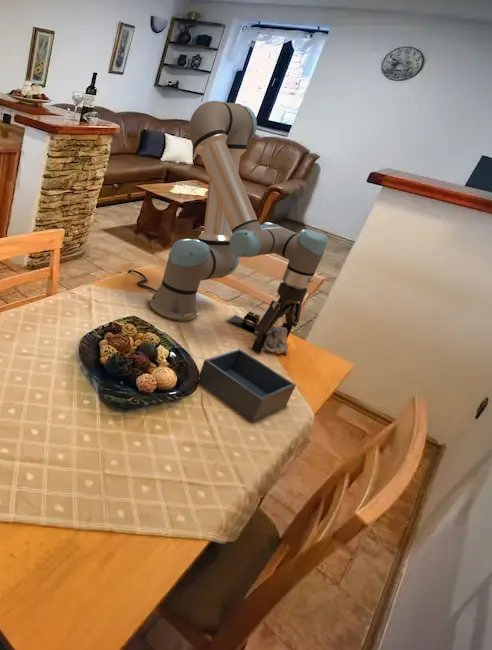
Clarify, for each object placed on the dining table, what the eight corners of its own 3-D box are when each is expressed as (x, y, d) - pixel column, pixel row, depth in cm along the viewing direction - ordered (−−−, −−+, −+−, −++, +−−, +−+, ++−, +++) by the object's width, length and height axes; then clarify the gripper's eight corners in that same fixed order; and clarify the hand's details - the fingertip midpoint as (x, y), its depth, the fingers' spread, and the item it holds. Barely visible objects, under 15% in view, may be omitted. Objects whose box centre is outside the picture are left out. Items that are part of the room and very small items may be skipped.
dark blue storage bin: (196, 381, 131) (204, 359, 128) (231, 368, 140) (239, 348, 136) (252, 422, 119) (262, 399, 116) (285, 406, 128) (296, 384, 125)
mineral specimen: (263, 365, 154) (272, 345, 161) (288, 361, 148) (297, 340, 154) (248, 340, 152) (258, 322, 158) (272, 335, 146) (282, 316, 152)
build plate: (270, 332, 164) (275, 320, 162) (262, 339, 159) (267, 326, 157) (235, 316, 171) (239, 304, 168) (226, 322, 165) (231, 309, 163)
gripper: (282, 295, 135) (255, 361, 145) (328, 284, 149) (300, 345, 159) (259, 283, 140) (234, 348, 150) (305, 274, 154) (280, 333, 164)
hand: (268, 346), depth 155 cm, fingers open, 12 cm apart
